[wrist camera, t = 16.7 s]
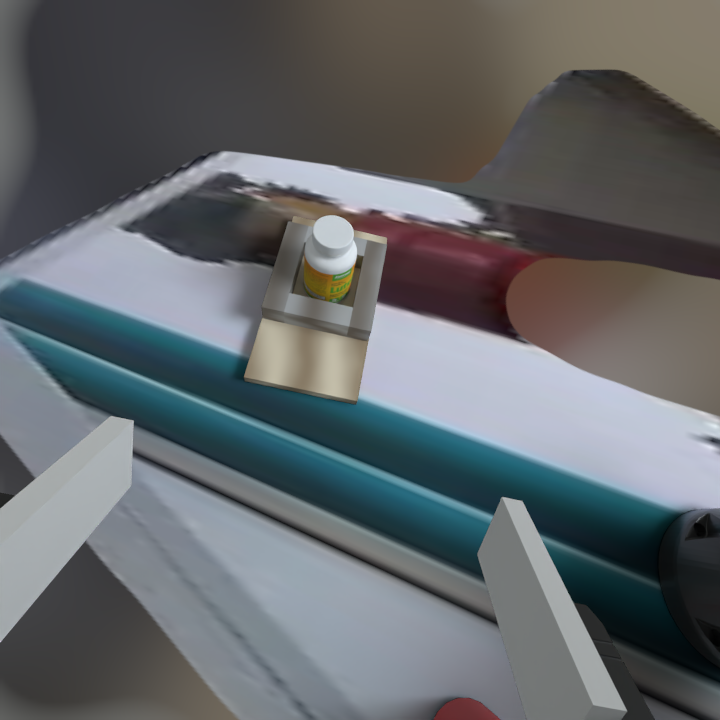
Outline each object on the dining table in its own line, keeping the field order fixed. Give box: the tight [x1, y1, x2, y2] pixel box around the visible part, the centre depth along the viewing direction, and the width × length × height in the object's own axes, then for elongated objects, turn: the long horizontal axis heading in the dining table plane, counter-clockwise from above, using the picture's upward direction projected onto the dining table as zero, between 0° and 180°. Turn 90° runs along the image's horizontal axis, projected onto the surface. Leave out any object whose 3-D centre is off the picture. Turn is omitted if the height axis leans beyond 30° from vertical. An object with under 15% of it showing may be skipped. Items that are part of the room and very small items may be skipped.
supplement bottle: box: [303, 215, 357, 304], centre depth 45 cm, size 5×5×10 cm
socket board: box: [244, 216, 387, 404], centre depth 48 cm, size 12×22×4 cm, turn 170°
